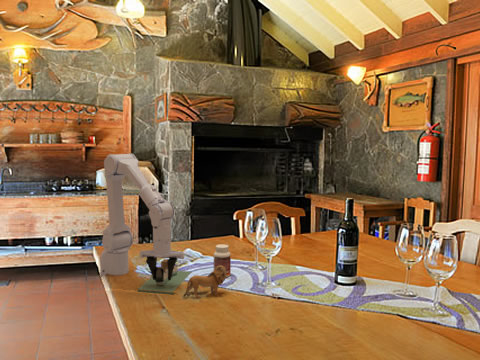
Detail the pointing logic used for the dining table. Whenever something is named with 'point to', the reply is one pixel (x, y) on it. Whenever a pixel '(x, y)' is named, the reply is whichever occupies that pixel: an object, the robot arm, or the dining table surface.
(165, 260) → the walnut block
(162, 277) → the lever
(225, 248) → the pill bottle
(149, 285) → the green flat rectangular slab
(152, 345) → the dining table surface
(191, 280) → the lion figurine
